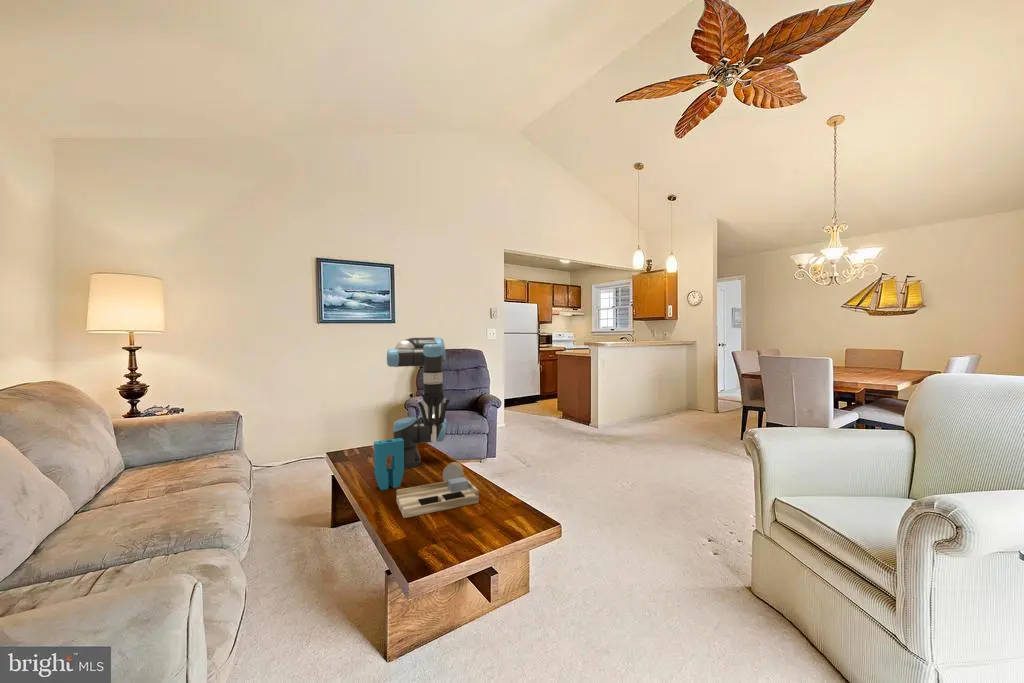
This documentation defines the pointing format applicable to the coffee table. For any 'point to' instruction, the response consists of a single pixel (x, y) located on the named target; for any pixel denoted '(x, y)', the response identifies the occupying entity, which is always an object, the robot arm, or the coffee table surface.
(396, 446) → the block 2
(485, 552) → the coffee table surface
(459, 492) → the box
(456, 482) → the block
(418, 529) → the coffee table surface
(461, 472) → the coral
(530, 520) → the coffee table surface
